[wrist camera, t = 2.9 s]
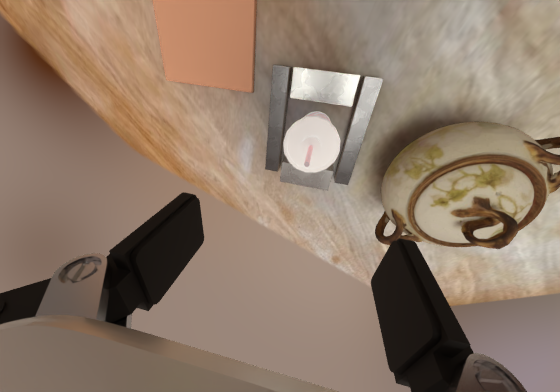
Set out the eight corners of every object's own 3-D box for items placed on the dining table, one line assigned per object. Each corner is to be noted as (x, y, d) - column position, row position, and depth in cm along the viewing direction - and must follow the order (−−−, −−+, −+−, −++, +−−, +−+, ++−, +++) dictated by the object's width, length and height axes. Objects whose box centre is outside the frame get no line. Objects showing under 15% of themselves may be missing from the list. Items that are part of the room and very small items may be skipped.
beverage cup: (321, 156, 31) (316, 205, 19) (287, 135, 30) (261, 173, 19) (346, 120, 28) (360, 154, 16) (309, 96, 27) (294, 112, 15)
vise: (379, 78, 24) (390, 79, 20) (346, 179, 32) (349, 194, 28) (276, 65, 26) (266, 63, 22) (268, 164, 33) (259, 177, 29)
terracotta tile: (258, -45, 21) (255, -49, 20) (253, 92, 28) (251, 92, 27) (148, -52, 23) (143, -55, 22) (170, 80, 30) (166, 80, 29)
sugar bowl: (390, 231, 35) (425, 317, 23) (339, 171, 32) (346, 234, 19) (539, 164, 26) (741, 250, 13) (489, 66, 22) (705, 55, 9)
